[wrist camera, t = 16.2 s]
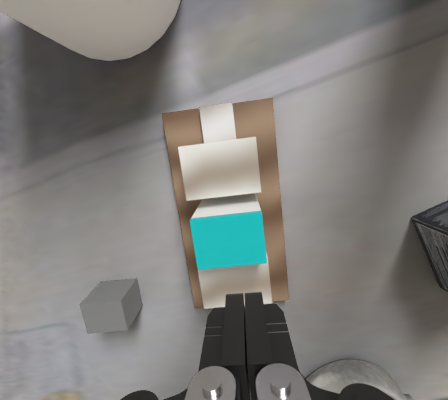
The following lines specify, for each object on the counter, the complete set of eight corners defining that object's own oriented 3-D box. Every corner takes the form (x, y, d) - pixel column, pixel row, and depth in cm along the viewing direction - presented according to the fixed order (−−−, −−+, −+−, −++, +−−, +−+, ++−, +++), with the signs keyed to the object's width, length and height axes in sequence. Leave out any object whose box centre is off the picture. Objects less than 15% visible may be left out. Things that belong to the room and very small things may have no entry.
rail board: (165, 114, 30) (142, 106, 23) (270, 100, 29) (281, 86, 22) (196, 300, 35) (186, 341, 28) (286, 293, 34) (299, 333, 27)
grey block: (101, 281, 35) (79, 304, 30) (137, 278, 35) (120, 300, 30) (107, 307, 36) (87, 333, 31) (142, 304, 36) (127, 330, 31)
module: (202, 199, 30) (189, 220, 22) (255, 193, 29) (261, 212, 21) (208, 236, 30) (197, 269, 23) (259, 231, 30) (267, 263, 22)
